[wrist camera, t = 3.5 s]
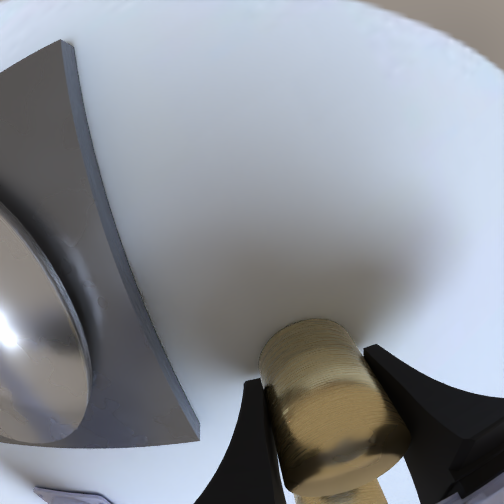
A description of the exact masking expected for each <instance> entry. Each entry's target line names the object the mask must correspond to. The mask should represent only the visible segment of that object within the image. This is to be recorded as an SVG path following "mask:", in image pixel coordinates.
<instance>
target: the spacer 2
mask: <svg viewBox="0 0 504 504" xmlns="http://www.w3.org/2000/svg"><path fill="white" fill-rule="evenodd" d="M293 494H294V493H293ZM294 498H295V502H296V504H388V503H387V500H386V498H385V496H384V494H383V491H382V489H381V487H380V485H379V482H378V480H377V478H376V479H374V480H373V481H371V482H369V483H367V484H365V485H363V486H360V487H358V488H355V489H353V490H350V491H347V492H343V493H340V494H335V495H330V496H322V497H306V496H300V495H296V494H294Z"/></svg>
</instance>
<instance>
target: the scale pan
mask: <svg viewBox="0 0 504 504" xmlns="http://www.w3.org/2000/svg"><path fill="white" fill-rule="evenodd" d="M91 388H92V367H91V360H90V355H89V350H88V345H87V342H86V338H85V335H84V332H83V329H82V325H81V323H80V321H79V318H78V316H77V313H76V311H75V309H74V306H73V304H72V302H71V300H70V298H69V296H68V294H67V292H66V290H65V288H64V286H63V284H62V282H61V280H60V278H59V277H58V275H57V273H56V272H55V270H54V268H53V267H52V265H51V263H50V262H49V260H48V258H47V257H46V255H45V254H44V253H43V251H42V250H41V248H40V247H39V245H38V244H37V242H36V241H35V240H34V238H33V237H32V235H31V234H30V233H29V232H28V231H27V229H26V228H25V227H24V226H23V225H22V223H21V222H20V221H19V220H18V218H17V217H16V216H15V215H14V214H13V213H12V212H11V211H10V210H9V209H8V208H7V207H6V206H5V205H4V204H3V203H2V202H1V201H0V435H2V436H4V437H7V438H10V439H13V440H17V441H21V442H27V443H50V442H55V441H58V440H61V439H63V438H65V437H67V436H68V435H70V434H71V433H72V432H73V431H74V430H75V429H76V428H77V427H78V426H79V424H80V422H81V421H82V419H83V417H84V414H85V411H86V408H87V405H88V402H89V399H90V395H91Z"/></svg>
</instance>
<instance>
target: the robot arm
mask: <svg viewBox="0 0 504 504" xmlns="http://www.w3.org/2000/svg"><path fill="white" fill-rule="evenodd" d="M363 350H364V359H365V360H366V362H367V363H368V365H369V367H370V368H371V370H372V371H373V373H374V375H375V376H376V378H377V379H378V381H379V383H380V384H381V386H382V387H383V389H384V391H385V392H386V394H387V395H388V397H389V399H390V400H391V402H392V403H393V405H394V407H395V408H396V410H397V412H398V413H399V415H400V417H401V418H402V420H403V422H404V423H405V425H406V426H407V428H408V430H409V431H410V434H411V442H410V445H409V448H408V449H407V451H406V453H405V454H404V455H403V456H404V459H405V461H406V464H407V466H408V469H409V471H410V474H411V476H412V479H413V482H414V485H415V488H416V490H417V494H418V497H419V500H420V503H421V504H504V398H498V397H489V396H484V395H479V394H474V393H470V392H467V391H463V390H460V389H457V388H454V387H451V386H448V385H446V384H444V383H441V382H439V381H436V380H434V379H432V378H430V377H428V376H426V375H424V374H423V373H421V372H419V371H417V370H416V369H414V368H412V367H411V366H409V365H407V364H406V363H404V362H403V361H401V360H399V359H398V358H396V357H395V356H393V355H392V354H391V353H389V352H388V351H386V350H385V349H383V348H382V347H380V346H379V345H377V344H375V345H372V346H369V347H366V348H363ZM33 491H34V492H35V493H36V494H37V495H38V496H39V497H41V498H42V499H43V500H44V501H46V502H47V503H48V504H111V503H109V502H108V501H107V500H106V499H105V498H103V497H101V496H99V495H89V494H78V493H69V492H62V491H55V490H48V489H42V488H36V487H34V489H33ZM194 504H286V500H285V496H284V492H283V488H282V483H281V479H280V473H279V466H278V457H277V450H276V445H275V441H274V436H273V432H272V427H271V423H270V418H269V413H268V408H267V403H266V398H265V394H264V389H263V386H262V382H261V379H260V378H257V379H253V380H248V381H245V383H244V389H243V398H242V403H241V408H240V412H239V416H238V420H237V424H236V427H235V430H234V433H233V436H232V439H231V441H230V444H229V447H228V449H227V451H226V453H225V456H224V458H223V460H222V462H221V464H220V465H219V467H218V469H217V471H216V473H215V474H214V476H213V478H212V479H211V481H210V482H209V484H208V485H207V487H206V488H205V490H204V491H203V493H202V494H201V495H200V497H199V498H198V499H197V500H196V501H195V503H194Z"/></svg>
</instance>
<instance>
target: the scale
mask: <svg viewBox="0 0 504 504" xmlns="http://www.w3.org/2000/svg"><path fill="white" fill-rule="evenodd" d="M0 201H1V202H2V203H3V204H4V205H5V206H6V207H7V208H8V209H9V210H10V211H11V212H12V213H13V214H14V215H15V216H16V217H17V218H18V220H19V221H20V222H21V223H22V225H23V226H24V227H25V228H26V229H27V231H28V232H29V233H30V234H31V235H32V237H33V238H34V240H35V241H36V242H37V244H38V245H39V247H40V248H41V250H42V251H43V253H44V254H45V255H46V257H47V258H48V260H49V262H50V263H51V265H52V267H53V268H54V270H55V272H56V273H57V275H58V277H59V278H60V280H61V282H62V284H63V286H64V288H65V290H66V292H67V294H68V296H69V298H70V300H71V302H72V304H73V306H74V309H75V311H76V313H77V316H78V318H79V321H80V323H81V325H82V329H83V332H84V335H85V338H86V342H87V345H88V350H89V355H90V360H91V367H92V388H91V395H90V399H89V402H88V405H87V408H86V411H85V414H84V417H83V419H82V421H81V422H80V424H79V426H78V427H77V428H76V429H75V430H74V431H73V432H72V433H71V434H70V435H68V436H67V437H65V438H63V439H61V440H58V441H55V442H50V443H27V442H21V441H17V440H13V439H10V438H7V437H4V436H2V435H0V442H3V443H10V444H19V445H29V446H40V447H56V448H130V447H146V446H158V445H169V444H178V443H187V442H194V441H200V423H199V421H198V419H197V417H196V415H195V414H194V412H193V410H192V408H191V406H190V404H189V402H188V400H187V398H186V396H185V394H184V392H183V390H182V388H181V386H180V384H179V382H178V380H177V378H176V376H175V374H174V372H173V370H172V367H171V365H170V363H169V361H168V359H167V357H166V355H165V352H164V350H163V348H162V346H161V343H160V341H159V339H158V337H157V334H156V332H155V330H154V327H153V325H152V323H151V320H150V318H149V315H148V313H147V311H146V308H145V306H144V303H143V301H142V298H141V296H140V293H139V291H138V288H137V285H136V283H135V280H134V277H133V275H132V272H131V269H130V267H129V264H128V261H127V258H126V256H125V253H124V250H123V247H122V244H121V241H120V238H119V235H118V232H117V229H116V226H115V223H114V220H113V217H112V213H111V210H110V207H109V204H108V200H107V197H106V194H105V190H104V187H103V183H102V180H101V176H100V172H99V169H98V165H97V161H96V157H95V153H94V149H93V145H92V141H91V137H90V132H89V128H88V124H87V119H86V114H85V110H84V105H83V100H82V94H81V89H80V84H79V78H78V72H77V66H76V59H75V53H74V47H73V46H71V45H70V44H68V43H66V42H64V41H63V40H61V39H60V40H58V41H56V42H54V43H52V44H50V45H48V46H46V47H44V48H42V49H40V50H39V51H37V52H35V53H33V54H31V55H29V56H28V57H26V58H24V59H22V60H21V61H19V62H17V63H16V64H14V65H12V66H11V67H9V68H7V69H6V70H4V71H3V72H1V73H0Z"/></svg>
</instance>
